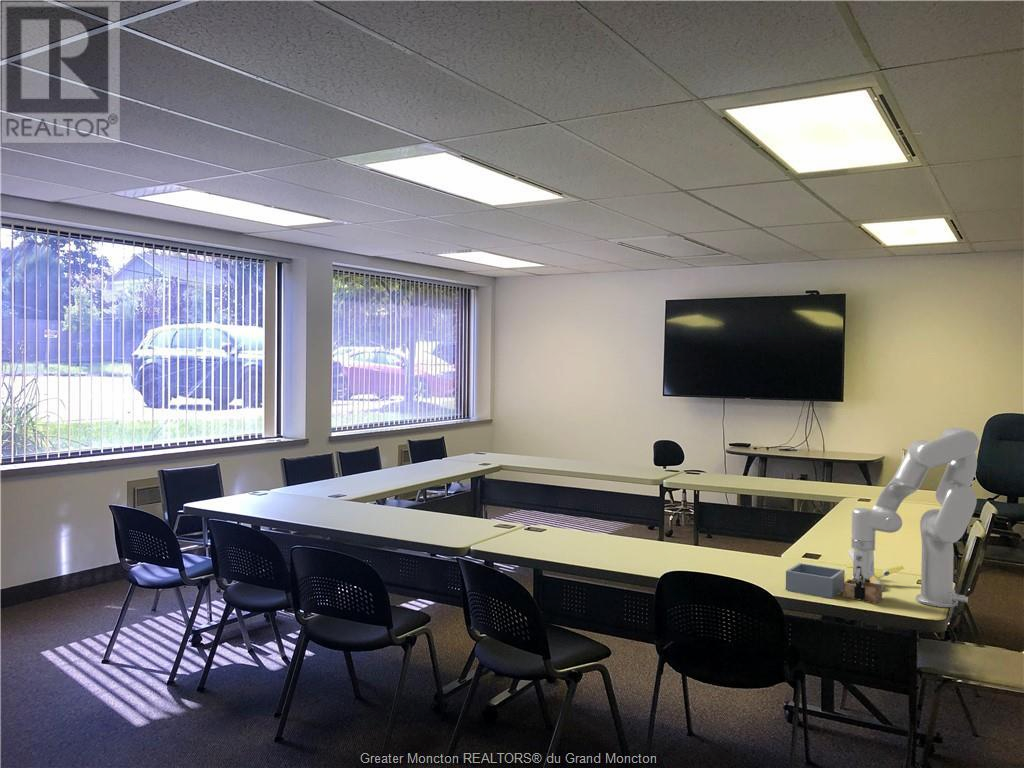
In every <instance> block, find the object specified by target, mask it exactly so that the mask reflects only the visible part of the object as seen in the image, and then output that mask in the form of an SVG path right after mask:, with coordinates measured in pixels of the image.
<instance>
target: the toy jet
mask: <svg viewBox="0 0 1024 768" xmlns="http://www.w3.org/2000/svg"><path fill="white" fill-rule="evenodd" d="M847 553H848V556H849V559H850V560H851V562H852V563H851V564H846V565H845V567H846V568H847V569H853V557H854V551H853V550H851V549H848V550H847ZM902 570H905V567H904V566H903V565H902V564H901V565H896V566H893V567H888V568H885V569H881V570H874V575H873V576H872V577H871V578H870V583H875V584H881V585H882V590H884V589H883V588H884V587H883V582H882V581H881V580H880V579H881V578H883V577H887V576H890V575H891V574H894V573H897V572H900V571H902ZM860 578H861V576H860ZM848 579H850V580H855V578H854V576H853V575H851V576H845V578H844V582H845V581H847V580H848ZM860 581H861V580H860Z"/></svg>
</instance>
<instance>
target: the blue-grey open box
mask: <svg viewBox="0 0 1024 768" xmlns="http://www.w3.org/2000/svg"><path fill="white" fill-rule="evenodd" d="M845 572H846V571H845V569H840V568H833V567H828V566H826V567H825V566H822V565H815V564H814V565H813V564H807V563H801V562H799V563H797V564H795V565H794V566H792V567H789V569H786V570H785V591H786V590H788V591H787V592H792V591H794V592H793V593H797V592H799V593H798V594H803V595H809V596H815V597H820V598H821V597H822V598H826V599H834V598H836V597H837V596H838V595H839V594H840V593H841V591H842V590H843V583H844V578H845V577H846V576H845V574H846V573H845ZM842 592H843V591H842ZM838 593H839V594H838ZM837 594H838V595H837Z"/></svg>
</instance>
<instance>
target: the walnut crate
mask: <svg viewBox="0 0 1024 768" xmlns="http://www.w3.org/2000/svg"><path fill="white" fill-rule="evenodd" d="M861 582H862V581H861ZM882 586H883V584H882V585H881V584H875V583H869V582H864V587H865V599H860V600H859V601H861V600H864V601H863V602H867V601H870V602H869V603H872V602H875V603H874V604H878V603H879V602H881V600H882V599H883V598H882V597H883V589H882ZM854 595H855V580H850V579H848V580H847V581H845V582H844V583H843V591H842V598H844V597H848V598H847V599H850V598H854V599H853V600H855V599H859V598H855V597H854Z"/></svg>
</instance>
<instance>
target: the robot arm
mask: <svg viewBox="0 0 1024 768" xmlns="http://www.w3.org/2000/svg"><path fill="white" fill-rule="evenodd" d="M979 445H980V440H979V437H978V435H976V433H975V432H973V431H972V430H968V429H963V428H958V427H949V428H946V429H945V430H944V431H942V433H941V435H940V438H937V439H935V440H931V441H928V440H921V439H919V440H915V441H914V442H912V443H911V444H910V445H909V447H908V449H907V451H906V453H905V454H904V456H903V458H902V460H901V461H900V462H901V463H900V464H899V466H898V468H897V470H896V471H895V474H894V476H893V477H892V479H891V480H890V481H889V482H888V484H886V486H885V487H884V488H883V490H882V491H881V492H880V494H879V495H878V497H877V498H876V501H875V503H874V505H873V507H872V509H871V508H866V507H865V508H864V507H857V508H853V510H852V512H851V538H850V539H851V549H852V550H853V552H854V557H853V562H852V564H853V568H852V576H854V578H855V595H854V597H855V598H859V599H865V587H864V582H869V583H870V578H871V577H872V576H873V575H874V572H875V555H874V551H875V550H876V532H881V533H882V532H883V533H889V534H890V533H891V534H892V533H896V532H899V531H900V529H901V528H902V526H903V519H902V517H901V516H900V515H899V513H897V511H898V509H899V508H900V505H901V504H902V503H903V501H904V500H905V499H906V498H907V497H909V496H910V495H913V494H914V493H916V492H917V491H918V490H919V489H920V487H921V486H922V483H923V482H924V479H925V478H926V476H927V474H928V472H929V470H930V469H931V468H937V467H940V466H944V465H946V464H947V465H946V468H945V471H944V473H943V475H942V477H941V479H940V482H939V484H938V486H937V489H936V490H935V499H936V501H937V503H938V504H940V509H939V508H932V509H928V510H926V511H925V512H924V513H923V514H922V516H921V518H920V520H919V521H920V522H919V529H920V537H921V539H920V540H921V563H920V564H921V566H920V567H921V569H920V572H921V576H920V578H921V579H920V594H917V595H916V596H915V600H916V601H917V602H918V603H921V604H922V605H927V606H931V607H936V606H937V608H954V607H955V608H956V607H957V606H959V602H961V603H966V604H967V603H968V598H969V597H968V596H965V595H964V594H958V593H956V589H954V556H955V555H954V553H955V552H954V544H955V543H956V542H958V541H959V540H960V539H961V538H962V537H963V536H964V534H965V532H966V530H967V527H968V526H969V523H970V521H971V519H972V517H973V515H974V512H975V510H976V508H977V507H976V506H977V499H978V498H977V495H976V493H975V490H974V489H973V488H971V486H972V483H973V480H974V477H975V475H976V472H977V467H978V459H977V454H976V451H977V450H978V449H979ZM860 576H861V578H860ZM860 580H861V581H862V582H861V581H860Z"/></svg>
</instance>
